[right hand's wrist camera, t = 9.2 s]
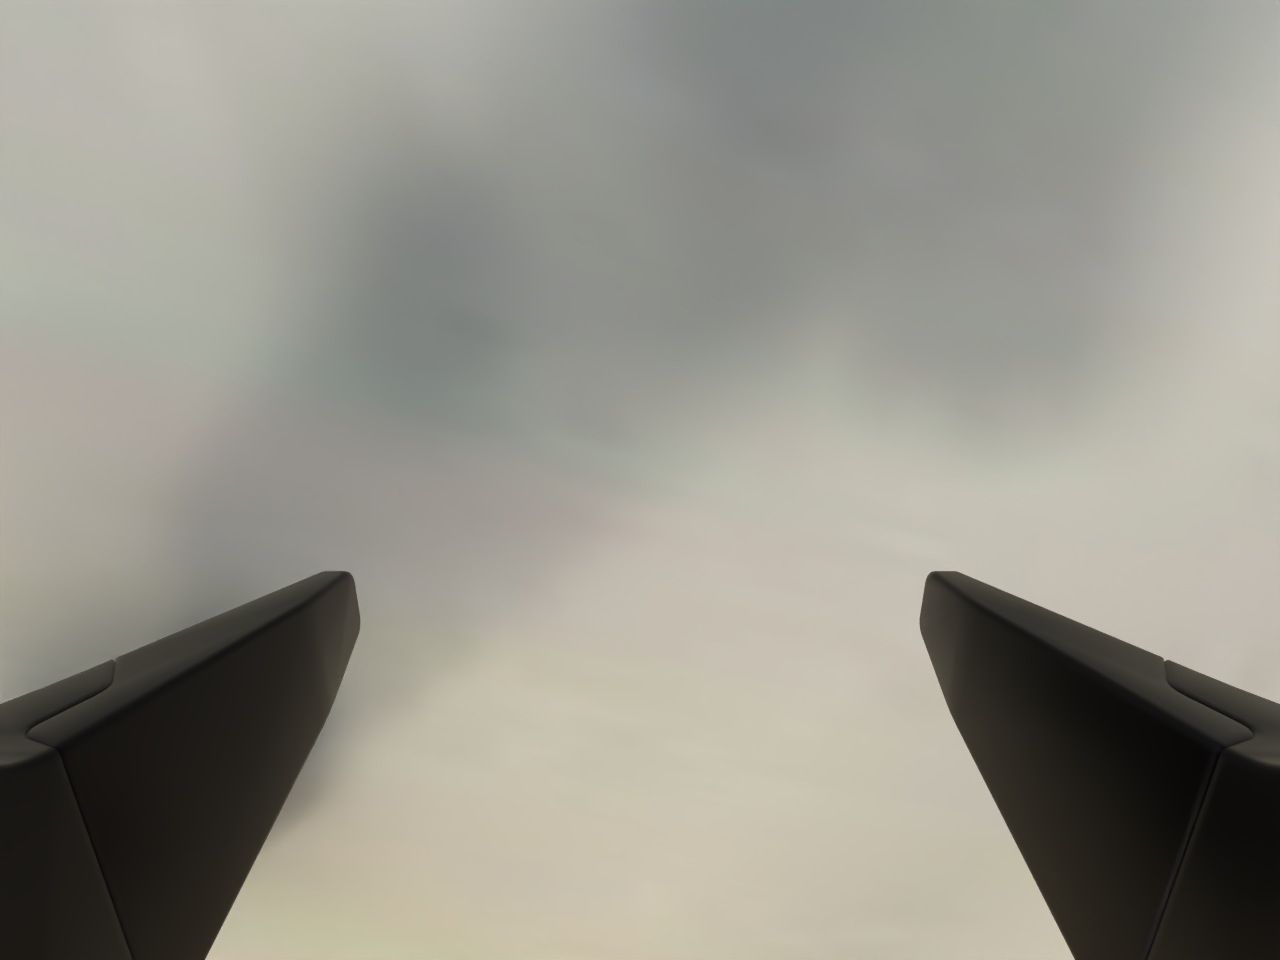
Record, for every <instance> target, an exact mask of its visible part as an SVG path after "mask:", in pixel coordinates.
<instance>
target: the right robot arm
mask: <svg viewBox="0 0 1280 960" xmlns="http://www.w3.org/2000/svg"><path fill="white" fill-rule="evenodd" d="M359 630H360V614H359V607H358V601H357V595H356V588H355V582H354V579H353V576H352V575H351V574H350V573H349V572H346V571H324V572H321V573H318V574H316V575H313V576H311V577H309V578H306V579H304V580H302V581H299V582H297V583H294V584H292V585H290V586H287V587H285V588H282V589H280V590H278V591H275V592H273V593H270V594H268V595H266V596H263V597H261V598H259V599H256V600H254V601H251V602H249V603H247V604H244V605H242V606H239V607H237V608H235V609H232V610H230V611H227V612H225V613H223V614H220V615H218V616H215V617H213V618H211V619H208V620H206V621H204V622H201V623H199V624H196V625H194V626H192V627H189V628H187V629H184V630H182V631H180V632H177V633H175V634H172V635H170V636H168V637H165V638H163V639H161V640H158V641H156V642H153V643H151V644H149V645H146V646H144V647H141V648H139V649H137V650H134V651H132V652H129V653H127V654H125V655H122V656H120V657H118V658H117V659H116V662H115V661H114V660H110V661H108V662H105V663H103V664H101V665H98V666H96V667H93V668H91V669H89V670H86V671H84V672H81V673H79V674H76V675H74V676H71V677H69V678H66V679H64V680H61V681H59V682H57V683H54V684H52V685H49V686H47V687H44V688H41V689H39V690H36V691H34V692H31V693H28V694H26V695H23V696H20V697H18V698H15V699H13V700H10V701H7V702H5V703H2V704H0V960H205V959H206V957H207V955H208V953H209V951H210V949H211V947H212V945H213V943H214V941H215V939H216V937H217V935H218V933H219V931H220V929H221V927H222V925H223V923H224V921H225V919H226V917H227V915H228V913H229V911H230V909H231V907H232V905H233V903H234V901H235V899H236V897H237V895H238V893H239V891H240V889H241V887H242V885H243V884H244V882H245V880H246V878H247V876H248V874H249V872H250V870H251V868H252V866H253V864H254V862H255V860H256V858H257V856H258V854H259V852H260V850H261V848H262V846H263V844H264V842H265V840H266V838H267V836H268V834H269V832H270V830H271V828H272V826H273V824H274V822H275V820H276V818H277V816H278V814H279V812H280V810H281V808H282V806H283V804H284V802H285V801H286V799H287V797H288V795H289V793H290V791H291V789H292V787H293V785H294V783H295V781H296V779H297V777H298V775H299V773H300V771H301V769H302V767H303V765H304V763H305V761H306V759H307V757H308V755H309V753H310V751H311V749H312V747H313V745H314V743H315V741H316V739H317V737H318V735H319V733H320V731H321V729H322V727H323V725H324V723H325V721H326V719H327V717H328V715H329V713H330V710H331V708H332V705H333V703H334V700H335V698H336V695H337V692H338V689H339V686H340V684H341V681H342V678H343V675H344V673H345V670H346V667H347V664H348V662H349V659H350V656H351V653H352V651H353V648H354V645H355V642H356V640H357V637H358V634H359ZM920 630H921V634H922V637H923V640H924V642H925V645H926V648H927V651H928V653H929V656H930V659H931V662H932V664H933V667H934V670H935V673H936V675H937V678H938V681H939V684H940V686H941V689H942V692H943V695H944V698H945V700H946V703H947V705H948V708H949V710H950V713H951V715H952V717H953V719H954V721H955V723H956V725H957V727H958V729H959V731H960V733H961V735H962V737H963V739H964V741H965V743H966V745H967V747H968V749H969V751H970V753H971V755H972V757H973V759H974V761H975V763H976V765H977V767H978V769H979V771H980V773H981V775H982V777H983V779H984V781H985V783H986V785H987V787H988V789H989V791H990V793H991V795H992V797H993V799H994V801H995V803H996V804H997V806H998V808H999V810H1000V812H1001V814H1002V816H1003V818H1004V820H1005V822H1006V824H1007V826H1008V828H1009V830H1010V832H1011V834H1012V836H1013V838H1014V840H1015V842H1016V844H1017V846H1018V848H1019V850H1020V852H1021V854H1022V856H1023V858H1024V860H1025V862H1026V864H1027V866H1028V868H1029V870H1030V872H1031V874H1032V876H1033V878H1034V880H1035V882H1036V884H1037V886H1038V887H1039V889H1040V891H1041V893H1042V895H1043V897H1044V899H1045V901H1046V903H1047V905H1048V907H1049V909H1050V911H1051V913H1052V915H1053V917H1054V919H1055V921H1056V923H1057V925H1058V927H1059V929H1060V931H1061V933H1062V935H1063V937H1064V939H1065V941H1066V943H1067V945H1068V947H1069V949H1070V951H1071V953H1072V955H1073V957H1074V959H1075V960H1280V704H1278V703H1275V702H1273V701H1270V700H1267V699H1265V698H1262V697H1260V696H1257V695H1254V694H1252V693H1249V692H1246V691H1244V690H1241V689H1239V688H1236V687H1233V686H1231V685H1228V684H1226V683H1223V682H1221V681H1219V680H1216V679H1214V678H1211V677H1209V676H1206V675H1204V674H1201V673H1199V672H1196V671H1194V670H1191V669H1189V668H1187V667H1184V666H1182V665H1179V664H1177V663H1175V662H1172V661H1170V660H1166V661H1165V662H1164V659H1163V658H1162V657H1160V656H1158V655H1155V654H1153V653H1151V652H1148V651H1146V650H1143V649H1141V648H1139V647H1136V646H1134V645H1131V644H1129V643H1127V642H1124V641H1122V640H1119V639H1117V638H1115V637H1112V636H1110V635H1108V634H1105V633H1103V632H1100V631H1098V630H1096V629H1093V628H1091V627H1088V626H1086V625H1084V624H1081V623H1079V622H1076V621H1074V620H1072V619H1069V618H1067V617H1065V616H1062V615H1060V614H1057V613H1055V612H1053V611H1050V610H1048V609H1045V608H1043V607H1041V606H1038V605H1036V604H1033V603H1031V602H1029V601H1026V600H1024V599H1021V598H1019V597H1017V596H1014V595H1012V594H1010V593H1007V592H1005V591H1002V590H1000V589H998V588H995V587H993V586H990V585H988V584H986V583H983V582H981V581H978V580H976V579H974V578H971V577H969V576H967V575H964V574H962V573H959V572H956V571H934V572H931V573H930V574H929V575H928V576H927V579H926V582H925V588H924V595H923V601H922V607H921V614H920Z"/></svg>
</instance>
